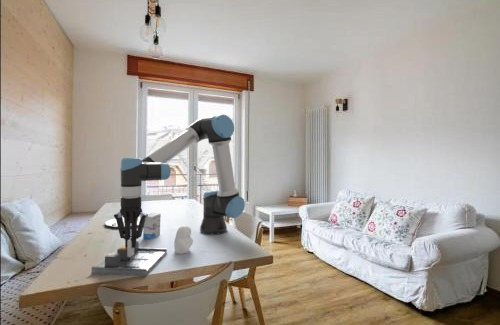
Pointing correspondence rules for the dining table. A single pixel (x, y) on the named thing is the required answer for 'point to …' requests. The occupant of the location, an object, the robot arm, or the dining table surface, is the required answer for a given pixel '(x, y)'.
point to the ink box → (151, 226)
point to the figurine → (183, 239)
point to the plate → (112, 221)
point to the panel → (134, 263)
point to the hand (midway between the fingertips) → (130, 255)
